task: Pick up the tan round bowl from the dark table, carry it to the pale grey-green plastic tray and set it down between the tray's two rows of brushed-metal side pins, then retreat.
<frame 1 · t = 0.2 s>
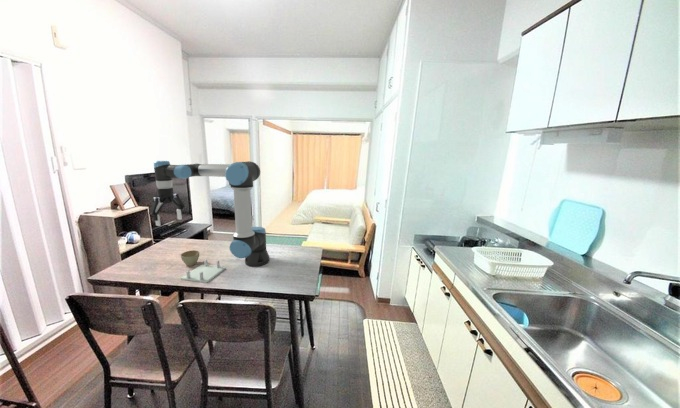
hand: (169, 222, 143), 27 cm above the table, fingers open, 13 cm apart
tan round bowl: (191, 264, 148), on the table
tray: (204, 273, 137), on the table
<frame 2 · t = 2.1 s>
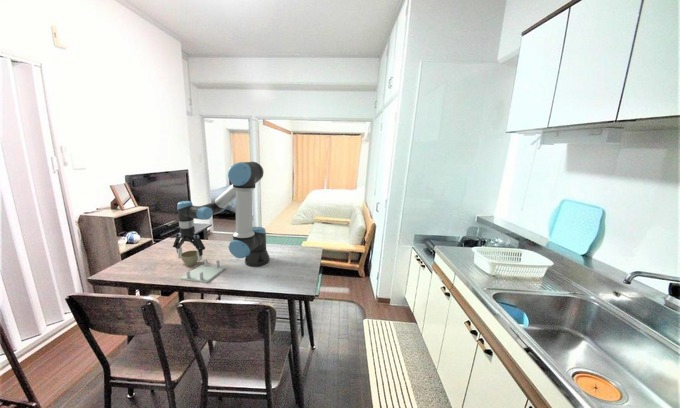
hand: (190, 259, 148), 3 cm above the table, fingers open, 13 cm apart
nothing on the table moved.
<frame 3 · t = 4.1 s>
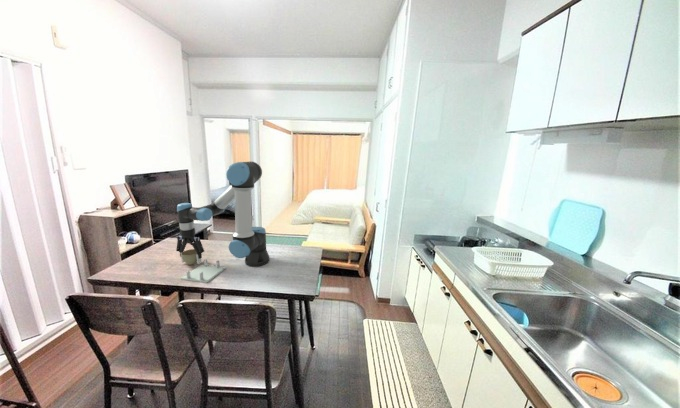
hand: (191, 262, 148), 1 cm above the table, fingers closed on tan round bowl, 10 cm apart
tan round bowl: (191, 263, 148), point 1 cm above the table, touching gripper
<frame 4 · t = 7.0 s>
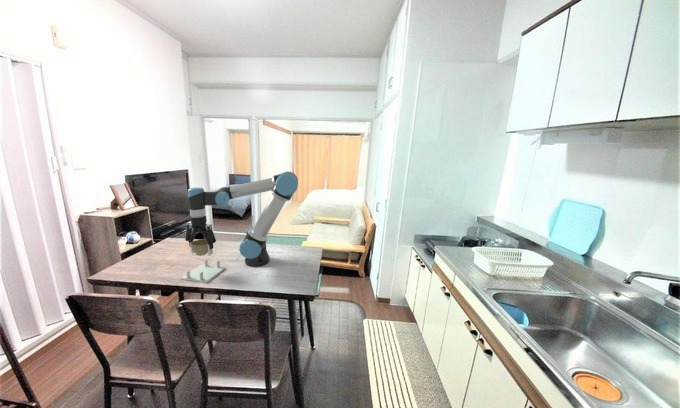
hand: (202, 253, 134), 13 cm above the table, fingers closed on tan round bowl, 10 cm apart
tan round bowl: (202, 254, 135), point 12 cm above the table, touching gripper
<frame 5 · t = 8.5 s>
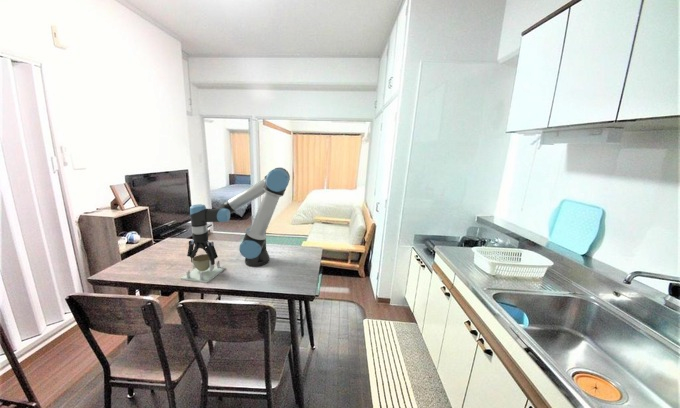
hand: (203, 268, 137), 3 cm above the table, fingers closed on tan round bowl, 10 cm apart
tan round bowl: (203, 269, 137), point 3 cm above the table, touching gripper
when the fingers open (3 cm above the table, at t = 9.6 s): tan round bowl drops 1 cm, resting on tray.
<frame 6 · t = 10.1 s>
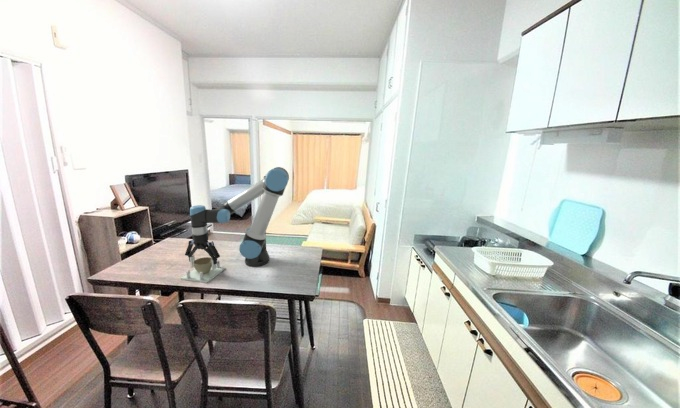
hand: (203, 267, 136), 4 cm above the table, fingers open, 13 cm apart
tan round bowl: (204, 272, 137), point 1 cm above the table, touching tray
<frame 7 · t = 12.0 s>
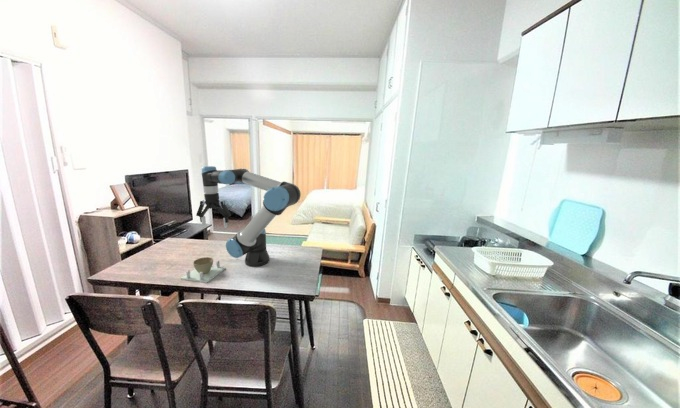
hand: (215, 227, 143), 24 cm above the table, fingers open, 13 cm apart
nothing on the table moved.
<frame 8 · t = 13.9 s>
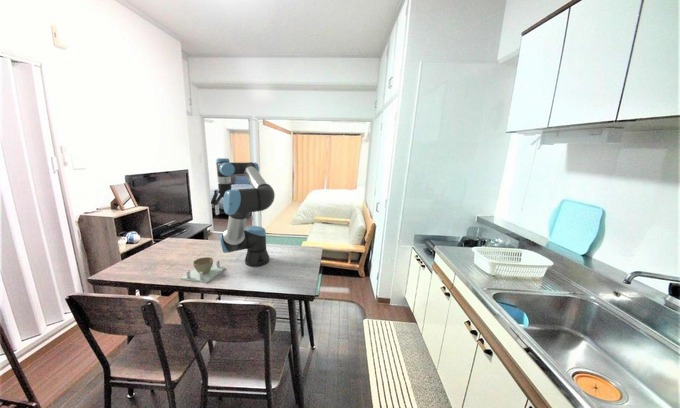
hand: (227, 215, 155), 29 cm above the table, fingers open, 13 cm apart
nothing on the table moved.
at the end: tan round bowl inside the target area on the tray (0.1 cm from its centre), point 0.8 cm above the tray's base; tan round bowl tilted 0°; the gripper is holding nothing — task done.
